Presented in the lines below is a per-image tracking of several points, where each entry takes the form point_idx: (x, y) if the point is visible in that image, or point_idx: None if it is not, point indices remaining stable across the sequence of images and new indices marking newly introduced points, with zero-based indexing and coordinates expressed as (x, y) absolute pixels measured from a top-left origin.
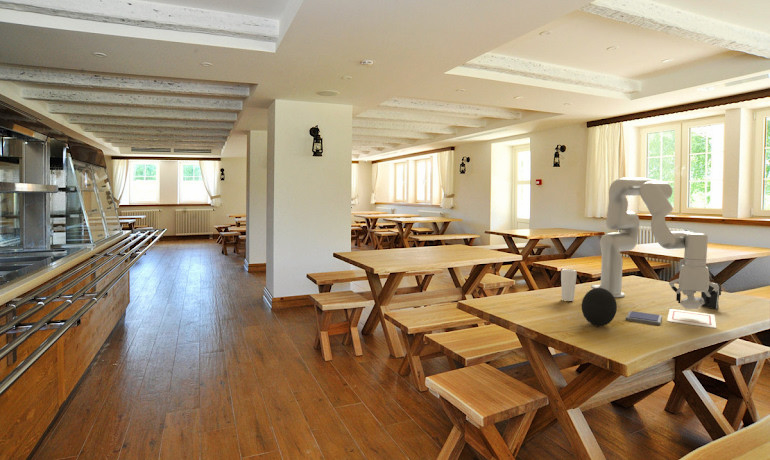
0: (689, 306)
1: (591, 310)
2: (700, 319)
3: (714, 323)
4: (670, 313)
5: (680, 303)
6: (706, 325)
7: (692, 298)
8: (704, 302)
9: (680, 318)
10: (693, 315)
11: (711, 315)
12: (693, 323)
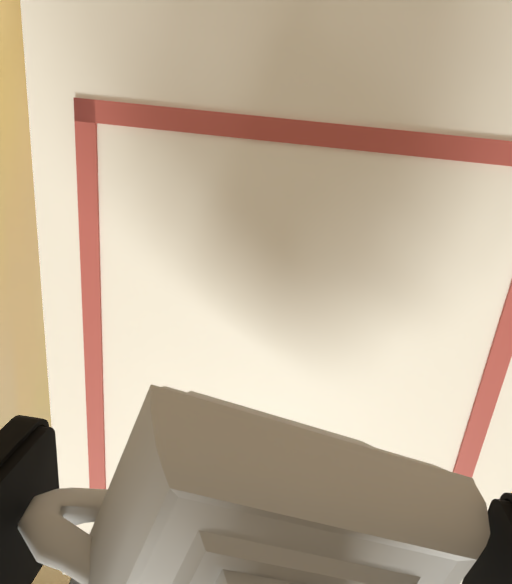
0: (316, 430)
1: None
2: (189, 325)
3: (46, 199)
4: (501, 463)
5: (481, 495)
6: (132, 13)
7: None
8: (29, 507)
9: (427, 261)
10: None
11: None
12: (294, 38)
